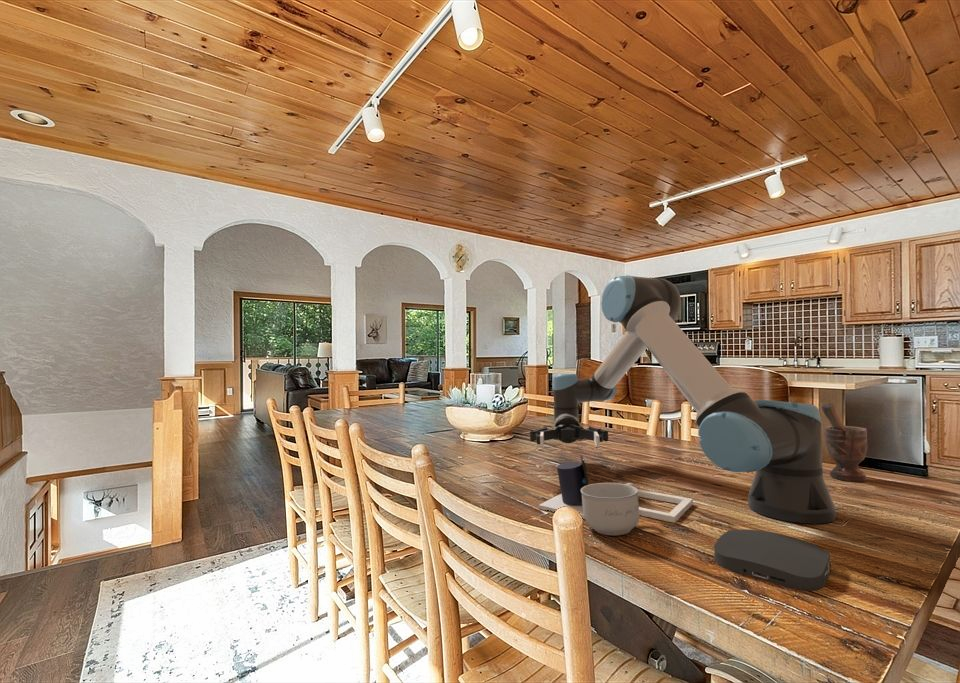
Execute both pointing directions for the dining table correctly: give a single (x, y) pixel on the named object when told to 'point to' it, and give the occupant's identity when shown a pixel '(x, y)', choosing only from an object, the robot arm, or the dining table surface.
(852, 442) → the mortar and pestle
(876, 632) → the dining table surface
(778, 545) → the media streaming box
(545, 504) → the mat
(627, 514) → the teacup
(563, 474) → the speaker
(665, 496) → the picture frame
